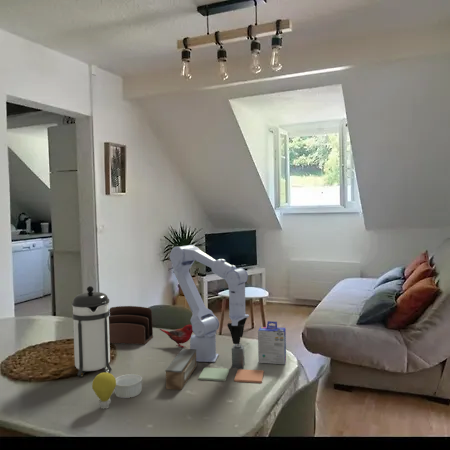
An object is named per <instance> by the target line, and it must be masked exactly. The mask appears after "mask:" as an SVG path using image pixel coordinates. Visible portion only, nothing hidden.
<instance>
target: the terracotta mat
mask: <svg viewBox="0 0 450 450" xmlns="http://www.w3.org/2000/svg"><path fill="white" fill-rule="evenodd" d="M264 373H265V370H262V369H261V370H260V369H244V368H237V371H236V374H235V377H234V379H233V380H234V381H233V382H237V383H238V382H239V383H254V384H257V383H258V384H261V383H263V377H264Z"/></svg>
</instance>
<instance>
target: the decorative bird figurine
mask: <svg viewBox="0 0 450 450" xmlns="http://www.w3.org/2000/svg"><path fill="white" fill-rule="evenodd" d="M159 330H160V331H161V332H163V333H165V334H166V335H167V336H168V337H169V338H170V339H171V340H172V341H174V342H175V343H176V344H175V346H177V347H179V348H182V349H184V348H185V346H184V345H182V344H186V343H187V342H188V341H190V340H191V336H192V335H193V330H192V324H185V325H184V326H183V327H182V328H177V329H176V328H175V329H173V330H170V331H168V330H165V329H162V328H159Z"/></svg>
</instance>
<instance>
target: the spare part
mask: <svg viewBox="0 0 450 450" xmlns="http://www.w3.org/2000/svg"><path fill="white" fill-rule="evenodd" d="M245 359H246V358H245V345H242V343H241V342H240V343H239V344H233V345H232V347H231V368H232V369H244V368H245V366H246V365H245V361H246V360H245Z"/></svg>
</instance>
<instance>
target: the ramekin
mask: <svg viewBox="0 0 450 450" xmlns="http://www.w3.org/2000/svg"><path fill="white" fill-rule="evenodd" d="M115 379H116V387H115V389H114V394H115V396H116V397H118V398H120V399H121V398H122V399H130V397H131V398H134V397H137V396H139V395H140V394H141V392H142V386H143V385H142V384H143V376H142V375H140V374H135V373H128V374H123V375H119V376H117V377H115Z"/></svg>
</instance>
